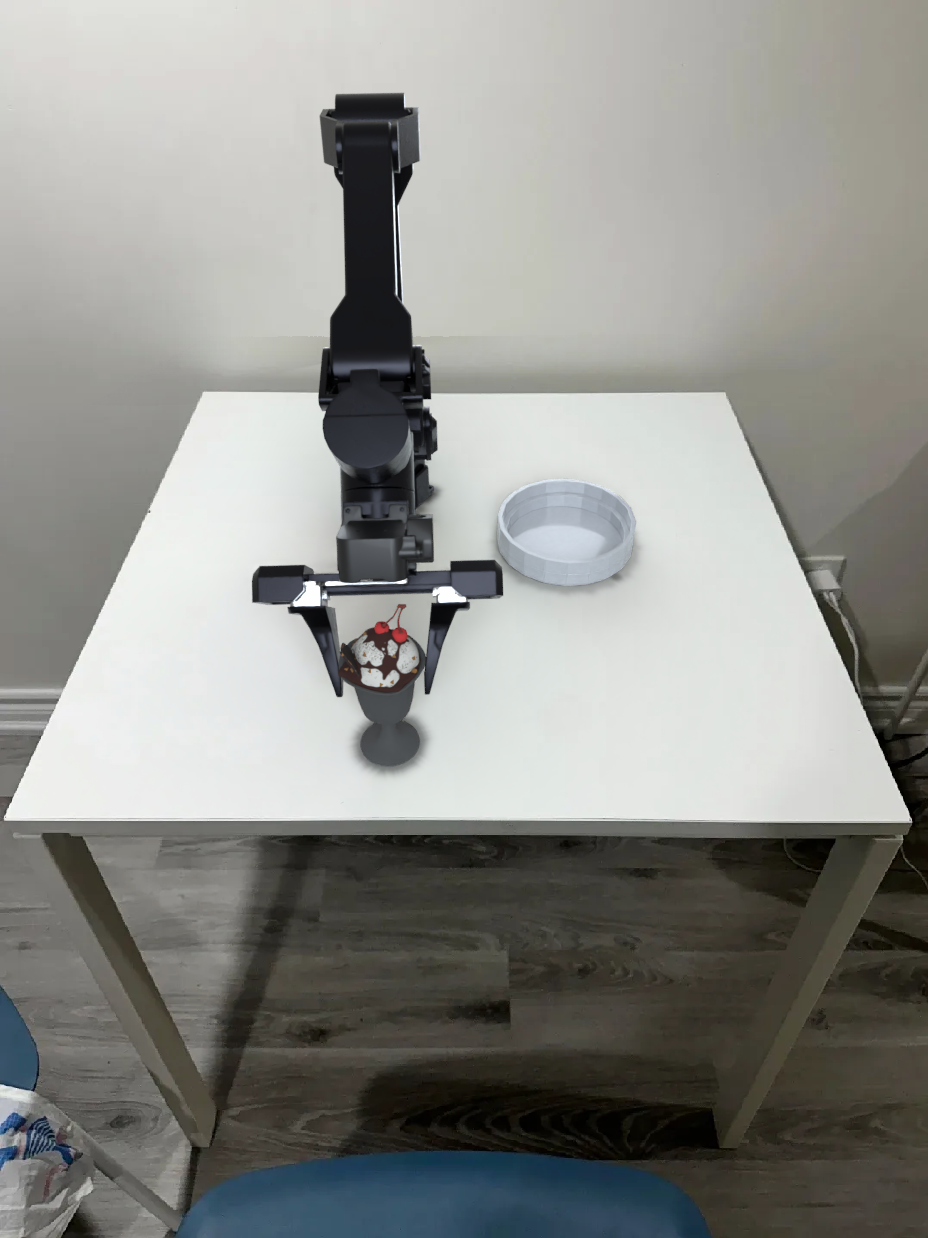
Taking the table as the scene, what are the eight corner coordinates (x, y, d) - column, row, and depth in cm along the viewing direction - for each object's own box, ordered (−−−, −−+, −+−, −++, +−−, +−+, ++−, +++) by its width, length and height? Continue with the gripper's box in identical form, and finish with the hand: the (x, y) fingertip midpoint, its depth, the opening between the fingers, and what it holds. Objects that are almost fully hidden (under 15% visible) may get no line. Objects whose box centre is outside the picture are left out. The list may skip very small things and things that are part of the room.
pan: (473, 560, 92) (473, 533, 89) (535, 491, 100) (537, 465, 98) (597, 607, 86) (600, 580, 84) (651, 530, 95) (656, 503, 93)
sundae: (443, 727, 76) (439, 598, 65) (406, 786, 71) (396, 658, 61) (375, 702, 78) (361, 573, 67) (336, 758, 73) (314, 629, 63)
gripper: (231, 478, 60) (237, 707, 60) (505, 471, 61) (512, 699, 60) (264, 502, 72) (269, 696, 71) (495, 497, 72) (501, 689, 72)
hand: (383, 695), depth 68 cm, fingers closed on sundae, 6 cm apart
